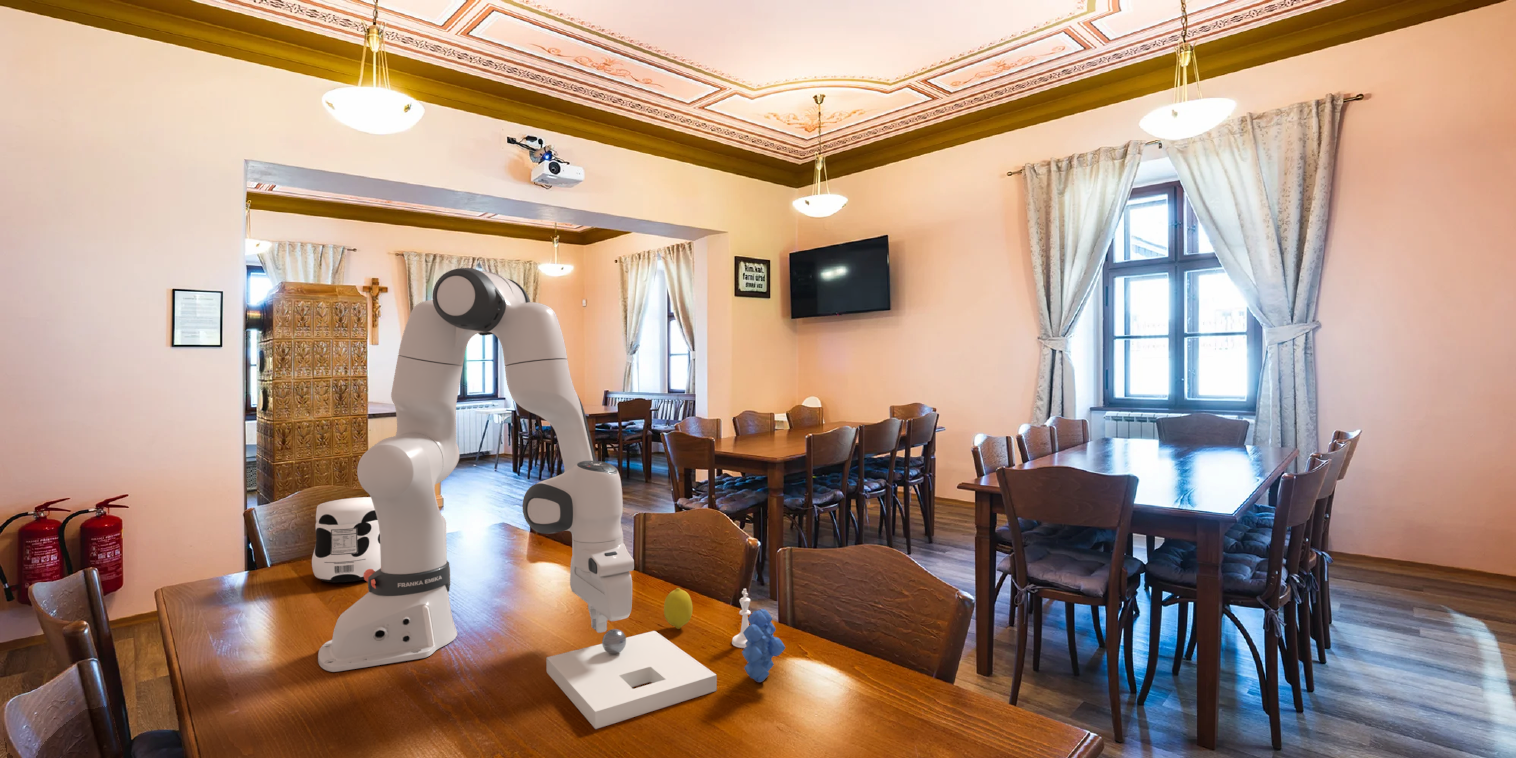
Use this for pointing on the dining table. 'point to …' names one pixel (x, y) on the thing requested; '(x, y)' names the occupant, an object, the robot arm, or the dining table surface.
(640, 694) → the hole board
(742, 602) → the chess piece
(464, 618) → the dining table surface
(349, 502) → the milk container
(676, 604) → the lemon
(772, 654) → the grapes
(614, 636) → the steel ball
